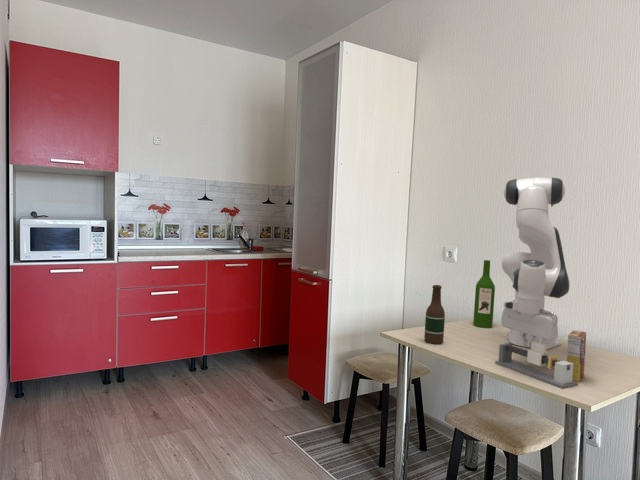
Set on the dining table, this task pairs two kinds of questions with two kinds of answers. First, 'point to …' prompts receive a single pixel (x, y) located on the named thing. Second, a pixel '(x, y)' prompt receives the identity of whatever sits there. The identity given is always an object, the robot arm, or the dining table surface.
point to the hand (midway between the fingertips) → (527, 346)
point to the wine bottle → (484, 299)
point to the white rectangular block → (537, 353)
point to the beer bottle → (435, 318)
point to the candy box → (577, 353)
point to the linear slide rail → (559, 378)
